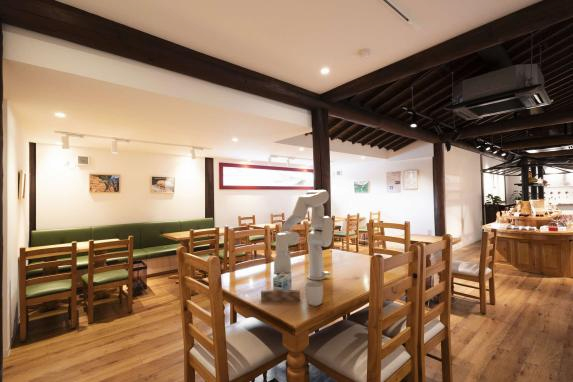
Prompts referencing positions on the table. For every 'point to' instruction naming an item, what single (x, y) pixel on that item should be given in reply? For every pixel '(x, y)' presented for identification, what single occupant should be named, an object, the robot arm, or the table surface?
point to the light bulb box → (282, 282)
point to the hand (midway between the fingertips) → (282, 283)
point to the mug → (314, 293)
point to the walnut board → (280, 295)
